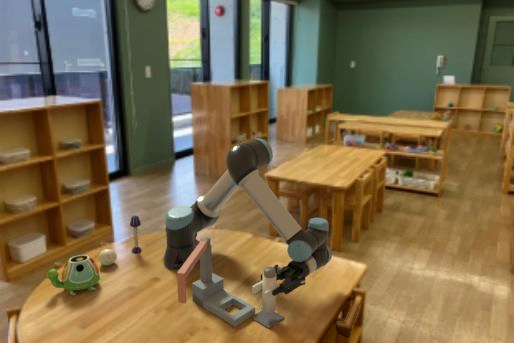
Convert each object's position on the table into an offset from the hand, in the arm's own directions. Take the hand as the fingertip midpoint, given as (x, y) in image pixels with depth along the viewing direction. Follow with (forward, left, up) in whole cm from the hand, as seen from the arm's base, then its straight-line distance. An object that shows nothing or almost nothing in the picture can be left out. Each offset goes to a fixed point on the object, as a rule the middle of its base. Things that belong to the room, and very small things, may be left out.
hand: (258, 293), depth 136 cm
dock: (-16, -1, -12) cm, 20 cm away
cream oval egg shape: (-73, -14, -13) cm, 76 cm away
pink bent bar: (-19, -10, +1) cm, 22 cm away
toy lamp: (-75, +1, -13) cm, 76 cm away
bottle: (0, +5, -8) cm, 10 cm away
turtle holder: (-65, -31, -13) cm, 73 cm away
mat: (0, +5, -12) cm, 13 cm away
